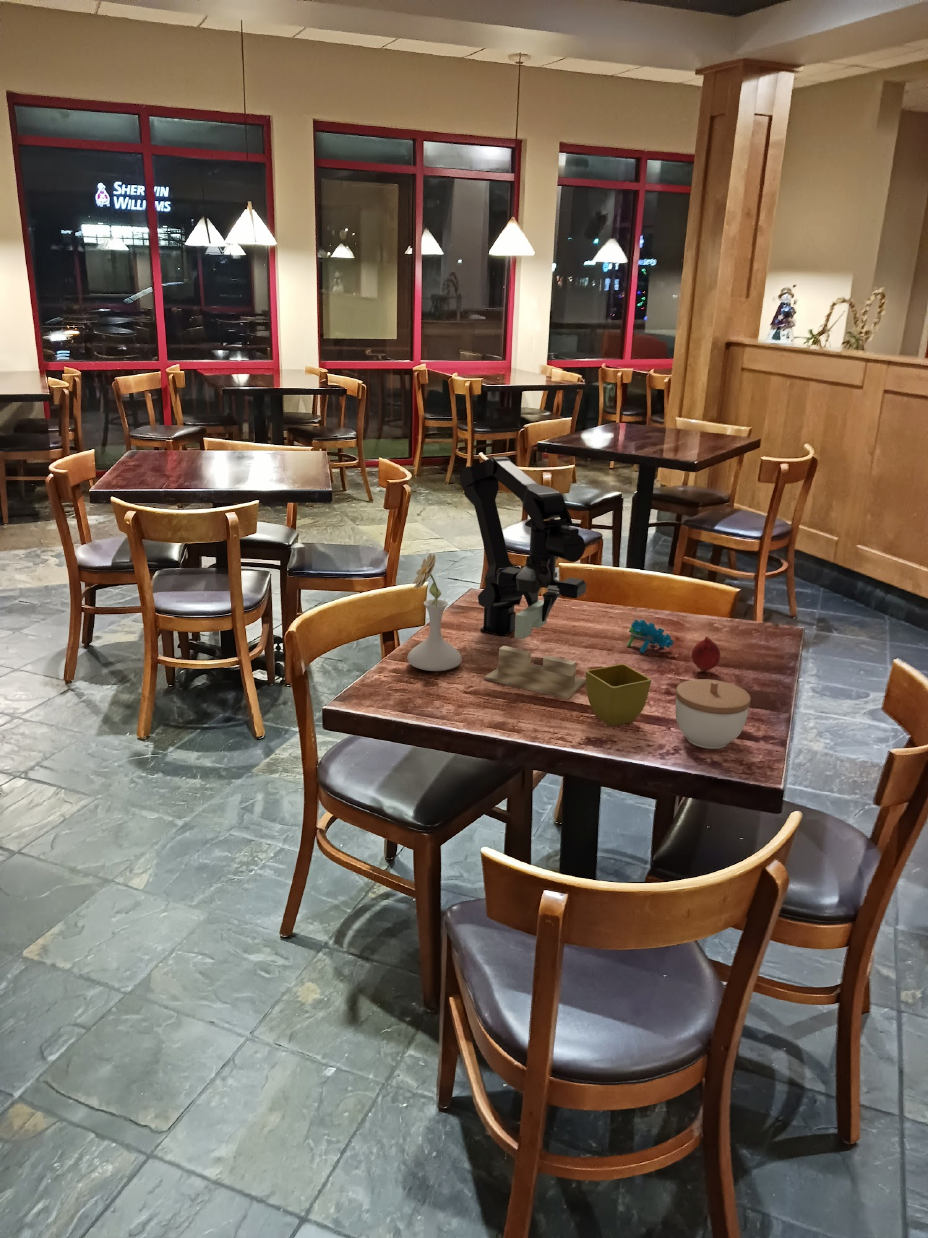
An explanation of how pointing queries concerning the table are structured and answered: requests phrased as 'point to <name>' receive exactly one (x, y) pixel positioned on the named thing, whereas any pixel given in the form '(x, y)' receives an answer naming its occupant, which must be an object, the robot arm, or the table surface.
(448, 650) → the flower in vase
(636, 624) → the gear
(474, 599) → the table surface
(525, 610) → the sage board
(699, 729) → the lidded bowl
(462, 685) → the table surface
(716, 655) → the onion
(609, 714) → the flower pot
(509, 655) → the maple jig
